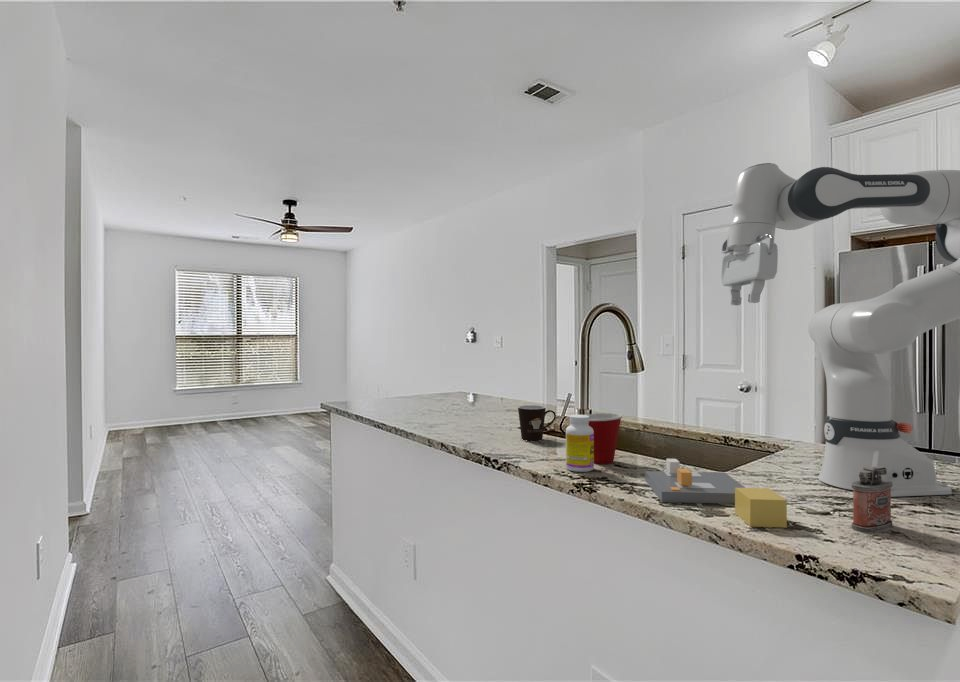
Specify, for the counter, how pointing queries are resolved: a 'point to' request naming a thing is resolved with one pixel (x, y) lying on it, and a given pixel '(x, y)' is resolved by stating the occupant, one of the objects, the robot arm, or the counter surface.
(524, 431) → the coffee mug
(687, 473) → the block
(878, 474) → the lighter
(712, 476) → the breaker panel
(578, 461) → the supplement bottle
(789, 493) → the counter surface
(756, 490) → the yellow block
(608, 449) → the plastic cup
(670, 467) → the toggle white
